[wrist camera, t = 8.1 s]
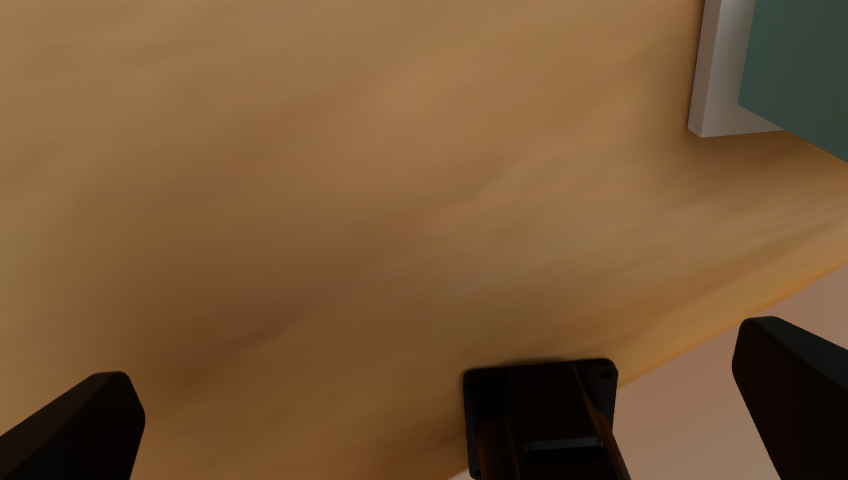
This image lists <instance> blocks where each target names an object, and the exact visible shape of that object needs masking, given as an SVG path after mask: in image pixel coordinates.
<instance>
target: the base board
mask: <svg viewBox="0 0 848 480" xmlns="http://www.w3.org/2000/svg"><path fill="white" fill-rule="evenodd" d="M755 4H756V0H705V6H704V13H703V20H702V28H701V35H700V42H699V49H698V56H697V63H696V70H695V77H694V84H693V92H692V99H691V106H690V113H689V120H688V127H687V129H689V130H690V131H692V132H693V133H695V134H696V135H697V136H699V137H700V138H704V137H715V136H726V135H737V134H748V133H759V132H770V131H781V130H785V129H783V128H781V127H779V126H777V125H775V124H774V123H772V122H770V121H768V120H766V119H764V118H762V117H760V116H758V115H756V114H755V113H753V112H751V111H749V110H747V109H745V108H743V107H741V106H739V105H738V98H739V93H740V87H741V82H742V76H743V71H744V65H745V59H746V54H747V48H748V43H749V37H750V32H751V26H752V21H753V15H754V10H755Z"/></svg>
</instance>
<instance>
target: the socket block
mask: <svg viewBox="0 0 848 480" xmlns="http://www.w3.org/2000/svg"><path fill="white" fill-rule="evenodd" d="M738 105H739V106H741V107H743V108H745V109H747V110H749V111H751V112H753V113H755V114H756V115H758V116H760V117H762V118H764V119H766V120H768V121H770V122H772V123H774V124H775V125H777V126H779V127H781V128H783V129H785V130H787V131H789V132H791V133H792V134H794V135H796V136H798V137H800V138H802V139H804V140H806V141H808V142H809V143H811V144H813V145H815V146H817V147H819V148H821V149H823V150H825V151H827V152H828V153H830V154H832V155H834V156H836V157H838V158H840V159H842V160H844V161H845V162H847V163H848V0H756V4H755V10H754V15H753V21H752V26H751V32H750V37H749V43H748V48H747V54H746V59H745V65H744V71H743V76H742V82H741V87H740V93H739V98H738Z"/></svg>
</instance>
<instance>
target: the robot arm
mask: <svg viewBox="0 0 848 480" xmlns="http://www.w3.org/2000/svg"><path fill="white" fill-rule="evenodd" d="M604 370H608V371H606V372H604V373H601V372H602V371H604ZM732 372H733V376H734V379H735V381H736V384H737V386H738V388H739V390H740V392H741V395H742V397H743V399H744V401H745V404H746V406H747V408H748V410H749V412H750V415H751V417H752V419H753V421H754V423H755V425H756V428H757V430H758V432H759V434H760V437H761V439H762V441H763V443H764V445H765V448H766V449H767V452H768V454H769V456H770V459H771V460H772V463H773V465H774V467H775V469H776V471H777V473H778V475H779V477H780V479H781V480H848V350H847V349H845V348H842V347H840V346H838V345H836V344H834V343H832V342H830V341H827V340H825V339H823V338H821V337H819V336H817V335H815V334H813V333H810V332H808V331H806V330H804V329H802V328H800V327H797V326H795V325H793V324H791V323H789V322H787V321H784V320H783V319H780V318H778V317H774V316H765V317H753V318H747V319H745V320H744V321H743V322H742V323H741V325H740V328H739V333H738V337H737V342H736V346H735V351H734V355H733V359H732ZM617 379H618V371H617V368H616V366H615V364H614V363H613V362H612V361H611V360H609V359H599V360H587V361H575V362H562V363H550V364H538V365H526V366H514V367H501V368H489V369H477V370H471V371H468V372H466V373H465V374H464V376H463V379H462V382H463V395H464V408H465V421H466V435H467V448H468V461H469V472H470V476H471V477H472V478H473V479H475V480H631V478H630V475H629V473H628V470H627V468H626V465H625V463H624V460H623V458H622V455H621V453H620V451H619V448H618V445H617V443H616V440H615V438H614V436H613V433H612V428H613V418H614V408H615V398H616V389H617ZM472 381H478V382H477V383H471V382H472ZM144 427H145V412H144V409H143V406H142V404H141V402H140V400H139V398H138V395H137V393H136V391H135V389H134V387H133V384H132V382H131V380H130V378H129V376H128V375H127V374H126V373H124V372H121V371H112V372H100V373H95V374H93V375H91V376H89V377H88V378H86V379H85V380H83V381H82V382H80V383H79V384H77V385H76V386H74V387H73V388H71V389H70V390H68V391H67V392H65V393H64V394H62V395H61V396H59V397H58V398H56V399H55V400H53V401H52V402H50V403H49V404H47V405H46V406H45V407H43V408H42V409H40V410H39V411H37V412H36V413H34V414H33V415H31V416H30V417H28V418H27V419H25V420H24V421H22V422H21V423H19V424H18V425H16V426H15V427H13V428H12V429H10V430H9V431H7V432H6V433H4V434H3V435H1V436H0V480H130V476H131V473H132V469H133V466H134V463H135V459H136V456H137V452H138V449H139V445H140V442H141V438H142V435H143V431H144Z"/></svg>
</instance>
